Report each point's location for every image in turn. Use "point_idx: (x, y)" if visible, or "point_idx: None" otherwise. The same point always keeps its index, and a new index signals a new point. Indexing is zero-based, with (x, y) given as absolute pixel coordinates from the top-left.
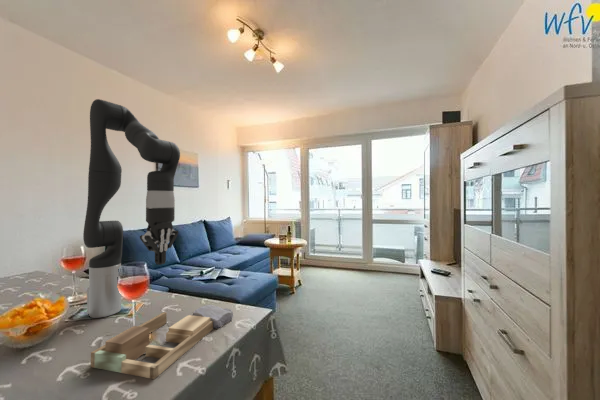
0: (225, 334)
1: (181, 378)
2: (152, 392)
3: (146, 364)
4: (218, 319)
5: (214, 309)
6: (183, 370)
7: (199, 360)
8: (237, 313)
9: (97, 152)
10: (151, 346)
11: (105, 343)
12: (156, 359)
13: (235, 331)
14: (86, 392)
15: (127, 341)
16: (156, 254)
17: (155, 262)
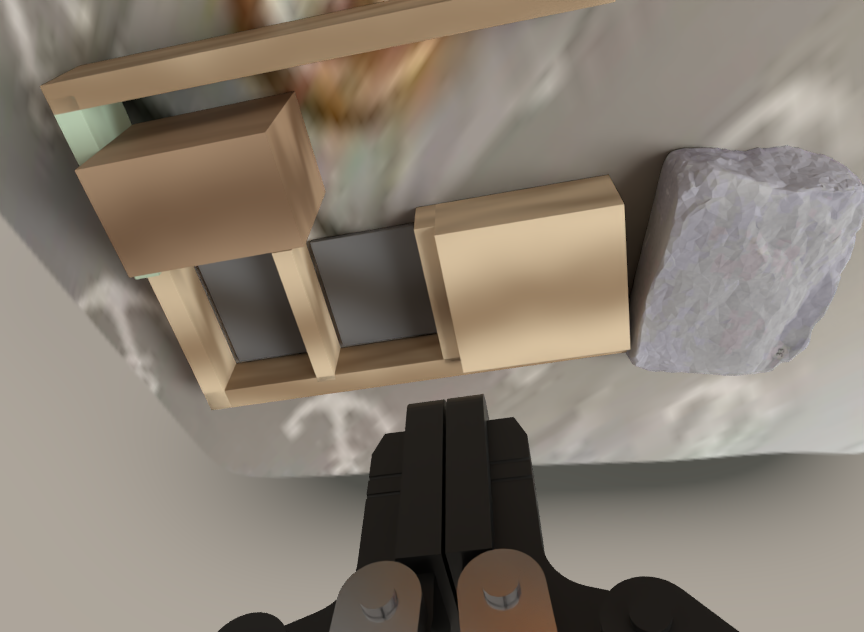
0: (587, 404)
1: (280, 448)
2: (188, 423)
3: (203, 370)
4: (650, 368)
5: (765, 280)
6: (310, 427)
7: (380, 434)
8: (839, 324)
9: None
10: (288, 276)
11: (79, 167)
12: (289, 303)
13: (627, 425)
14: (32, 239)
15: (161, 270)
16: (380, 560)
17: (381, 447)
